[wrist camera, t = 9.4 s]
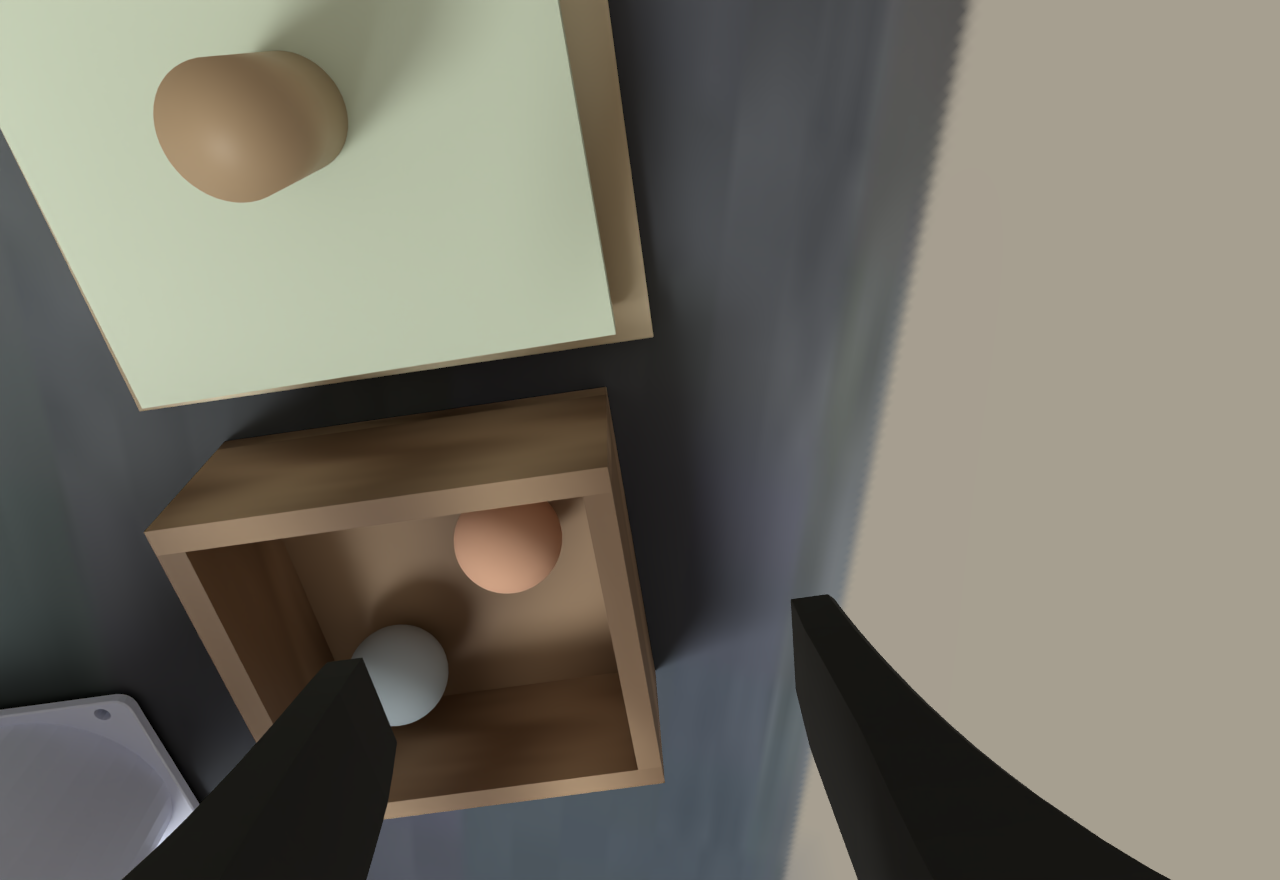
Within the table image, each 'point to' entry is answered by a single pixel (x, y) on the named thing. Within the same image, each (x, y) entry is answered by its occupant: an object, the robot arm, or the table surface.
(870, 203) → the table surface
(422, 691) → the ball
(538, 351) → the board
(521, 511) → the ball
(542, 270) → the lid
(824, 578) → the table surface
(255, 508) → the box
